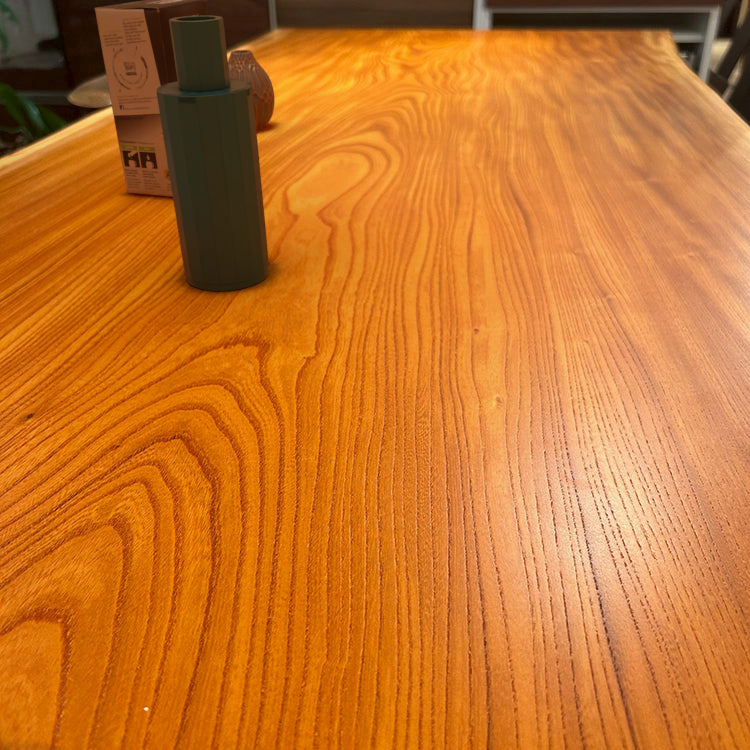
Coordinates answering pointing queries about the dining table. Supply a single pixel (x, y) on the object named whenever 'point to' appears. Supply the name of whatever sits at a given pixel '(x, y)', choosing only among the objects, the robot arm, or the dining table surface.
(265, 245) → the bottle
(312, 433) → the dining table surface
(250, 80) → the vase
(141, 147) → the coffee box
